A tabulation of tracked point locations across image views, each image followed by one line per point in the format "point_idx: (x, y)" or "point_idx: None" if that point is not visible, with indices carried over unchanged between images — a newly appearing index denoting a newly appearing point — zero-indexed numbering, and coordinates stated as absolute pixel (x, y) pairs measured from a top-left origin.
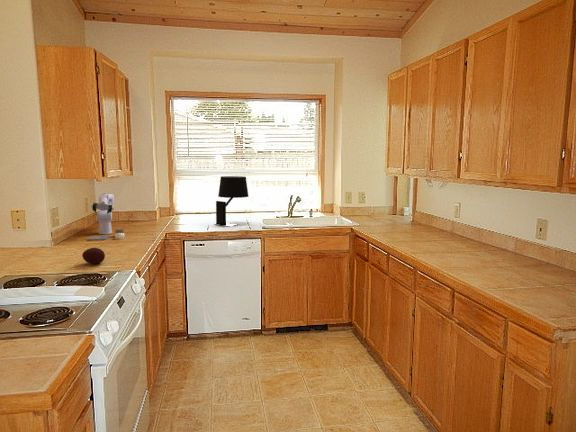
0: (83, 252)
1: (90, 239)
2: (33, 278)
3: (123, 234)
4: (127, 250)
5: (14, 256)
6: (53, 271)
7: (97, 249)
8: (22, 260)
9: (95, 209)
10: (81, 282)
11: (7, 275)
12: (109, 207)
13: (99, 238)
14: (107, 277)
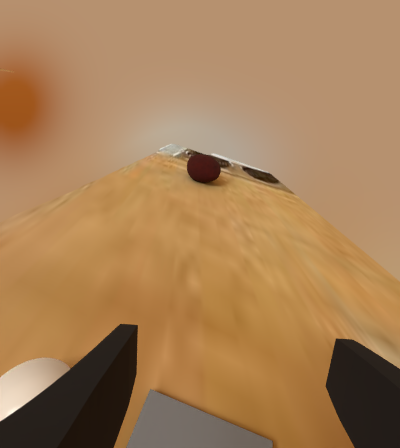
0: (219, 166)
1: (245, 430)
2: (258, 178)
3: (14, 370)
4: (125, 202)
5: (369, 266)
6: (246, 182)
7: (200, 154)
8: (324, 235)
9: (347, 339)
10: None
11: (292, 193)
12: (15, 436)
13: (187, 435)
14: (185, 153)
